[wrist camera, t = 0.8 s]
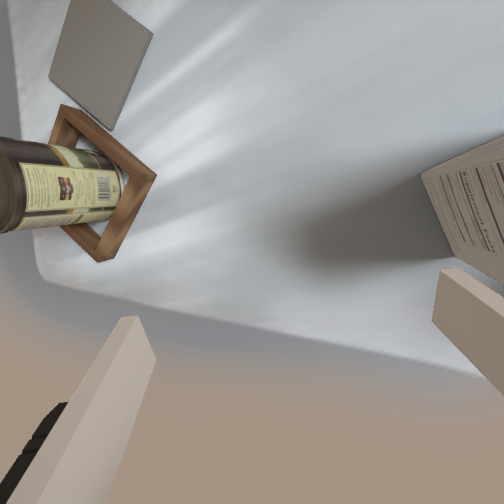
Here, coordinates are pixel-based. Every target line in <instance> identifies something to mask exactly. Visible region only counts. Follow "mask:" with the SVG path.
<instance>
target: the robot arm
mask: <svg viewBox="0 0 504 504" xmlns="http://www.w3.org/2000/svg"><path fill="white" fill-rule="evenodd" d="M432 322H433V323H434V324H435V325H436V326H437V327H438V328H439V329H440V330H441V331H442V332H443V333H444V335H445V336H446V337H447V338H448V339H449V340H450V341H451V342H452V343H453V344H454V345H455V346H456V347H457V348H458V349H459V350H460V351H461V352H462V353H463V354H464V355H465V356H466V357H467V358H468V359H469V360H470V361H471V363H472V364H473V365H474V366H475V367H476V368H477V369H478V370H479V371H480V372H481V373H482V374H483V375H484V376H485V377H486V378H487V379H488V380H489V381H490V382H491V383H492V384H493V385H494V386H495V387H496V388H497V390H499V392H500V393H501V394H502V395H503V396H504V297H502V296H501V295H499V294H498V293H496V292H495V291H493V290H492V289H490V288H489V287H487V286H486V285H484V284H483V283H481V282H480V281H478V280H477V279H475V278H474V277H472V276H471V275H469V274H468V273H466V272H465V271H463V270H462V269H460V268H459V267H458V268H451V269H444V270H440V274H439V280H438V286H437V292H436V298H435V304H434V310H433V317H432ZM155 363H156V358H155V356H154V353H153V351H152V349H151V346H150V344H149V341H148V339H147V336H146V334H145V331H144V329H143V327H142V324H141V322H140V319H139V317H138V315H135V316H127V317H121V318H120V319H119V321H118V323H117V324H116V326H115V327H114V329H113V331H112V333H111V334H110V336H109V337H108V339H107V340H106V342H105V344H104V346H103V347H102V349H101V350H100V352H99V353H98V355H97V357H96V358H95V360H94V362H93V363H92V365H91V367H90V368H89V370H88V371H87V373H86V375H85V376H84V378H83V380H82V381H81V383H80V384H79V386H78V388H77V389H76V391H75V392H74V394H73V396H72V397H71V399H70V401H69V402H64V403H59V404H58V405H57V406H56V407H55V408H54V409H53V410H52V411H51V412H50V413H49V414H48V415H47V416H46V417H45V418H44V419H43V420H42V422H41V423H40V425H39V426H38V428H37V429H36V431H35V432H34V434H33V435H32V439H31V440H29V441H28V443H27V445H26V446H25V447H24V449H23V450H22V454H21V455H19V456H18V458H17V459H16V461H15V462H14V464H13V466H12V467H11V468H10V470H9V471H8V473H7V474H6V476H5V478H4V479H3V480H2V482H1V484H0V504H106V502H107V499H108V496H109V493H110V490H111V488H112V485H113V482H114V479H115V476H116V474H117V471H118V468H119V465H120V462H121V459H122V456H123V454H124V451H125V448H126V445H127V442H128V440H129V437H130V434H131V431H132V428H133V425H134V423H135V420H136V417H137V414H138V411H139V408H140V406H141V402H142V400H143V397H144V394H145V391H146V389H147V386H148V383H149V380H150V377H151V374H152V371H153V369H154V366H155Z"/></svg>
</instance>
